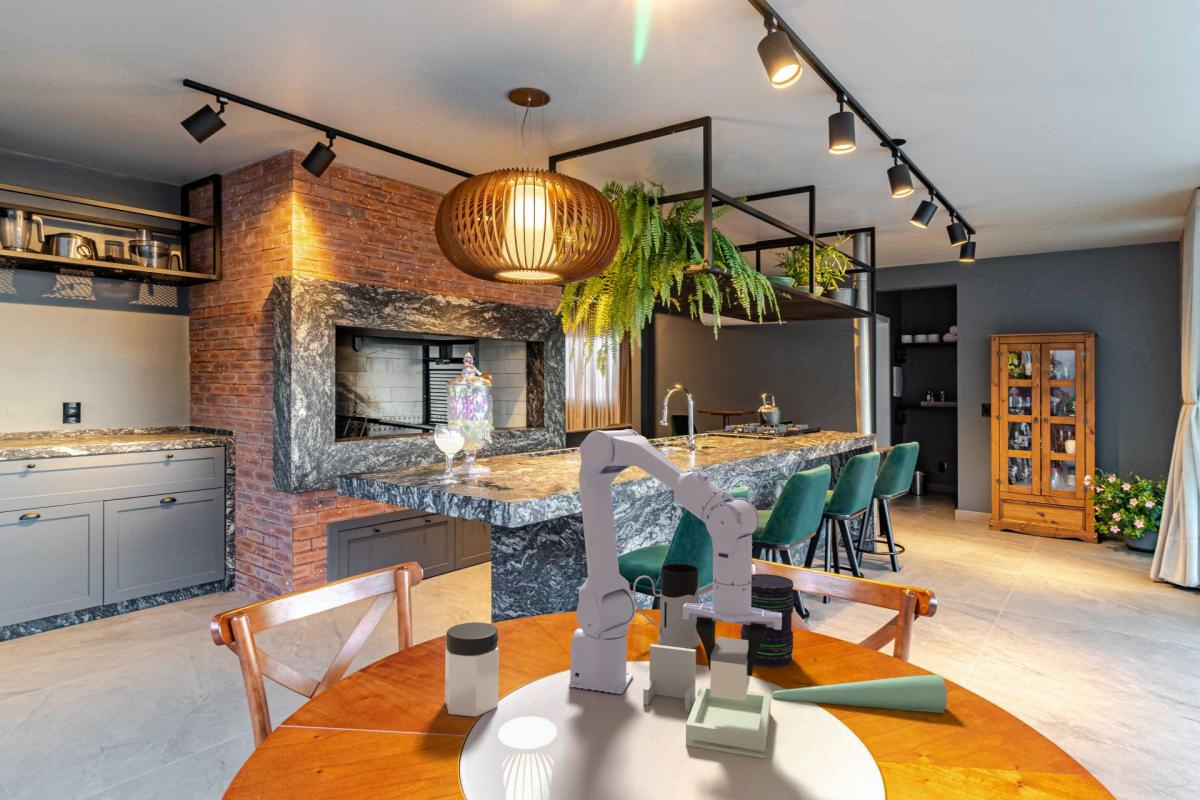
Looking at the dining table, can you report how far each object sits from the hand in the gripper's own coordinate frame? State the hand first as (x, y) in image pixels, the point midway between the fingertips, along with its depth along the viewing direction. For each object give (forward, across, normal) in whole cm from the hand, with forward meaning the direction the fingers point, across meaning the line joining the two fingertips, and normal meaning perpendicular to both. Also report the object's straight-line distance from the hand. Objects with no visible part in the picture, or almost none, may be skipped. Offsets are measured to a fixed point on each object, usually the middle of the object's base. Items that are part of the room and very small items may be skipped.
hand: (730, 670), depth 101 cm
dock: (+9, -10, +6) cm, 15 cm away
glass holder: (+9, -16, +32) cm, 38 cm away
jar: (+9, -40, -6) cm, 42 cm away
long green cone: (+9, +19, +16) cm, 26 cm away
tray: (+9, 0, 0) cm, 9 cm away
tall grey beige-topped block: (+2, 0, 0) cm, 2 cm away
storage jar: (+9, +4, +30) cm, 32 cm away
